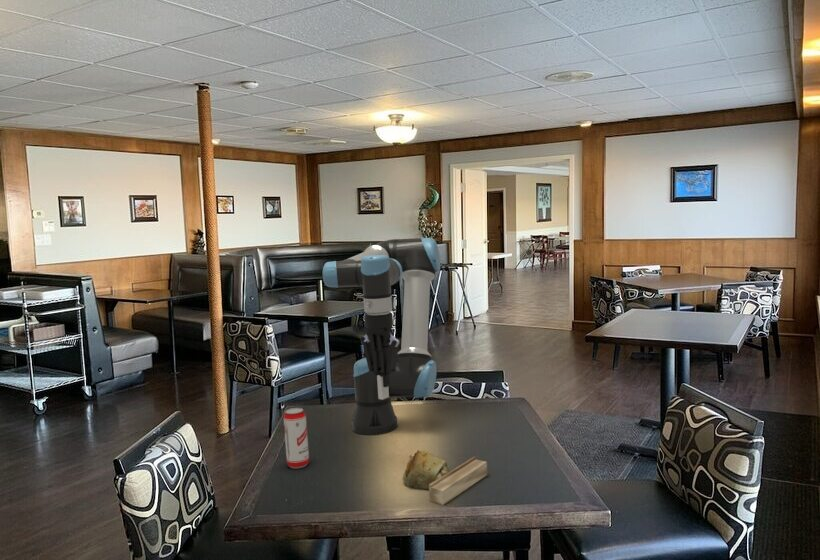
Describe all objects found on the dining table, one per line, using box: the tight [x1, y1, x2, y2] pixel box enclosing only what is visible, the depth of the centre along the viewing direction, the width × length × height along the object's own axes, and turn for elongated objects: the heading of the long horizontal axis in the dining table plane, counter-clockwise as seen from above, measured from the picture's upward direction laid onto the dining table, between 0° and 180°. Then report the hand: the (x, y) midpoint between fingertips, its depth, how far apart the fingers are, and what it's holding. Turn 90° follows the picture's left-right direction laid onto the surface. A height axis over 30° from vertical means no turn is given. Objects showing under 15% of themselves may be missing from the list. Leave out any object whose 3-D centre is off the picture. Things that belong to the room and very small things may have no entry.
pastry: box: [402, 450, 451, 491], centre depth 160 cm, size 14×12×8 cm
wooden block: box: [428, 456, 488, 506], centre depth 156 cm, size 4×20×4 cm, turn 142°
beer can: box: [283, 407, 310, 470], centre depth 175 cm, size 6×6×16 cm
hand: (383, 397), depth 169 cm, fingers closed
